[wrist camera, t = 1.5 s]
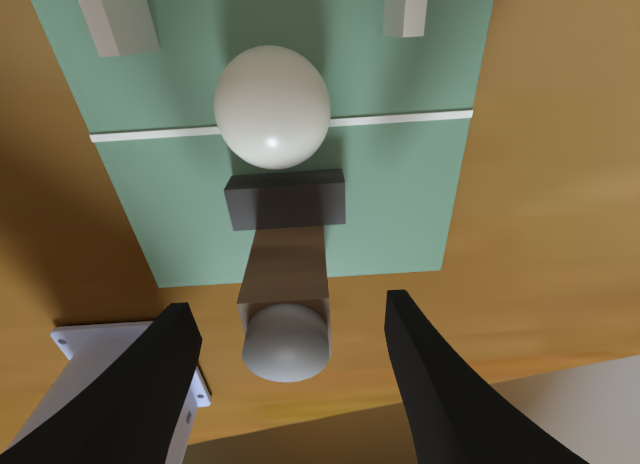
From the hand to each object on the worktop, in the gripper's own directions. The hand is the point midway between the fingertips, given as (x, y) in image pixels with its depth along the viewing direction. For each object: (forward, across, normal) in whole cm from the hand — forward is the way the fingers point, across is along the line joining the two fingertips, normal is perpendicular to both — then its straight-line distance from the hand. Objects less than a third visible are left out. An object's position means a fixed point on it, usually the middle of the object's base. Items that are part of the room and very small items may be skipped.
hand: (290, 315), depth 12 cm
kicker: (+5, 0, -1) cm, 5 cm away
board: (+6, 0, -5) cm, 8 cm away
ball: (+3, 0, -6) cm, 7 cm away
